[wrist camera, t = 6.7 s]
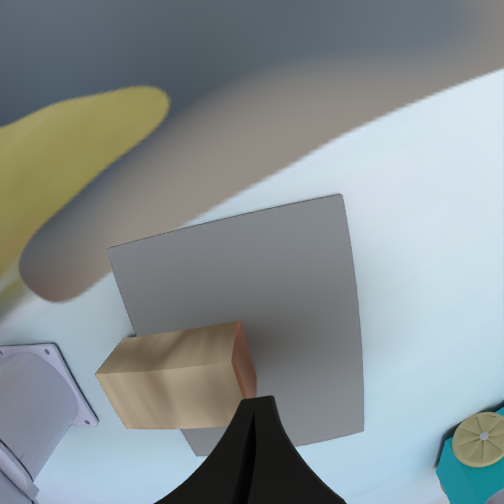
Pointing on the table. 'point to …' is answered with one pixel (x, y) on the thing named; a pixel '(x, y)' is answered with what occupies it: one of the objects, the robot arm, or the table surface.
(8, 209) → the table surface
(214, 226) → the slate mat
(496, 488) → the toy train
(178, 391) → the maple block
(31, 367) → the robot arm
